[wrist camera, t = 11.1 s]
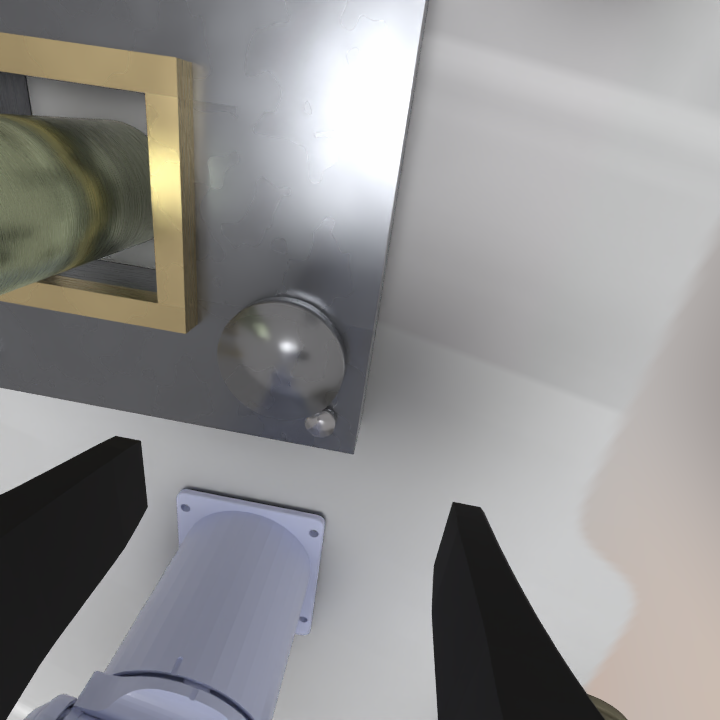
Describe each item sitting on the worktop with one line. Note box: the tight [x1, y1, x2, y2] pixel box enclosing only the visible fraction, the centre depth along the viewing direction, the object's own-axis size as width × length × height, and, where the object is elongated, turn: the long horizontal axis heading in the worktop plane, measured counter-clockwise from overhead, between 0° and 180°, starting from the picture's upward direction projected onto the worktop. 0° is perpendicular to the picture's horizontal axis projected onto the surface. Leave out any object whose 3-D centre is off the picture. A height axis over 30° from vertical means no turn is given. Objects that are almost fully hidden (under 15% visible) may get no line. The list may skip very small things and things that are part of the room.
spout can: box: [0, 114, 154, 295], centre depth 14 cm, size 5×5×10 cm
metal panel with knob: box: [0, 0, 429, 454], centre depth 17 cm, size 18×18×4 cm
